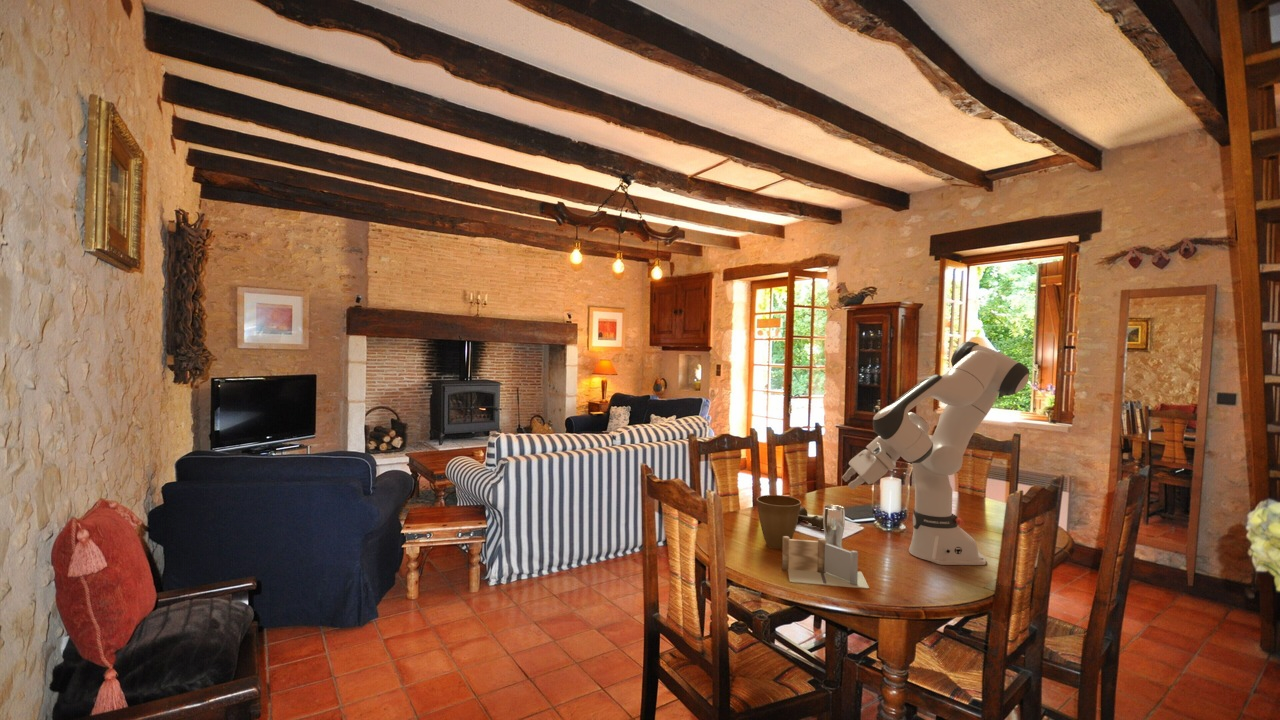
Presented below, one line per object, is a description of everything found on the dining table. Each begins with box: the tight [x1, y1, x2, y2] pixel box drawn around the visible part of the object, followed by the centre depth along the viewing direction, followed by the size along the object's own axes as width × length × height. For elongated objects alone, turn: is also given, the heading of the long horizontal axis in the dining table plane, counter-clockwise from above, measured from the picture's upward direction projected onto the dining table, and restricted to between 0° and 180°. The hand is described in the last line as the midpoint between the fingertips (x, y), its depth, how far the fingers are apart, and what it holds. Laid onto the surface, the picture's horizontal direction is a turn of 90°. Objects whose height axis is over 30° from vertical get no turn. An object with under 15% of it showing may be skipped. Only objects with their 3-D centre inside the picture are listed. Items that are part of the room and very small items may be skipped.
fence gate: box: [824, 543, 859, 585], centre depth 173 cm, size 11×2×9 cm, turn 34°
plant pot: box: [756, 494, 802, 550], centre depth 202 cm, size 15×15×16 cm
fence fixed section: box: [781, 536, 826, 572], centre depth 180 cm, size 13×2×10 cm, turn 79°
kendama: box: [798, 505, 824, 530], centre depth 226 cm, size 6×10×20 cm
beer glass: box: [822, 504, 846, 549], centre depth 196 cm, size 7×7×15 cm
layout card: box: [787, 569, 870, 590], centre depth 175 cm, size 22×12×1 cm, turn 79°
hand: (846, 483), depth 183 cm, fingers open, 8 cm apart
